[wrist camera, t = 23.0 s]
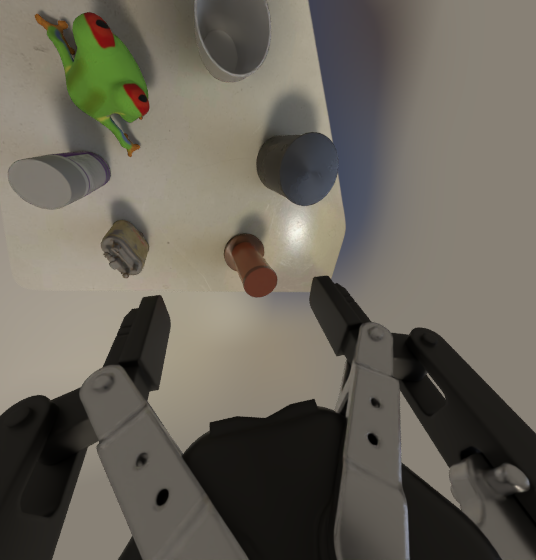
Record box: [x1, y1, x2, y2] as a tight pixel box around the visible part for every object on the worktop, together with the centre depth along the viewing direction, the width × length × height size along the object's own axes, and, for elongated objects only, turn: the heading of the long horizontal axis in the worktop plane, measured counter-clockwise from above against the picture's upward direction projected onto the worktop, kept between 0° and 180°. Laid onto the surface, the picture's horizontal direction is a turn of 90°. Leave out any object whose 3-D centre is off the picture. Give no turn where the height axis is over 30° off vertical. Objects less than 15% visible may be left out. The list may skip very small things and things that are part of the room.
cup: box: [194, 0, 271, 82], centre depth 26 cm, size 8×8×10 cm
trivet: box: [224, 234, 264, 271], centre depth 48 cm, size 9×9×1 cm
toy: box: [35, 12, 149, 157], centre depth 25 cm, size 14×9×10 cm, turn 20°
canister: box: [231, 242, 277, 297], centre depth 43 cm, size 6×6×12 cm
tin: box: [257, 132, 338, 206], centre depth 36 cm, size 10×10×12 cm
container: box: [8, 151, 111, 209], centre depth 26 cm, size 5×5×15 cm
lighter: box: [101, 220, 149, 278], centre depth 35 cm, size 7×4×10 cm, turn 19°
